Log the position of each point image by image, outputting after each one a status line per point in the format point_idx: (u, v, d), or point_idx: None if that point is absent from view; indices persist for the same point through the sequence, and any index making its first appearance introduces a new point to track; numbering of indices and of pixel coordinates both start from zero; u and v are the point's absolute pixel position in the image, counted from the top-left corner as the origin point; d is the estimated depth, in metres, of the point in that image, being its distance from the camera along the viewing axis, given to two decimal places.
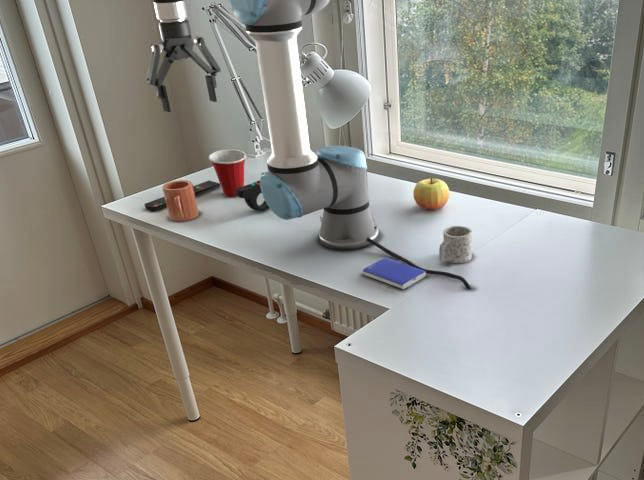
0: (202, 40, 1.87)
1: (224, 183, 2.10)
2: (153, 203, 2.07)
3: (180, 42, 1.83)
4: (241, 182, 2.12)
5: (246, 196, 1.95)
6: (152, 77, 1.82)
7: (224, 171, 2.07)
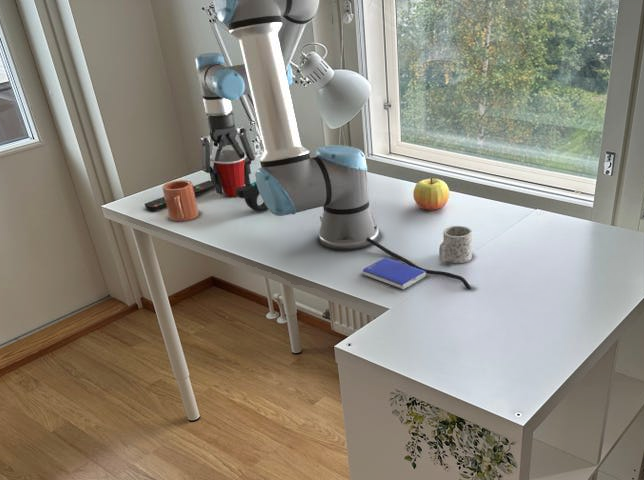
0: (244, 131, 2.08)
1: (224, 183, 2.10)
2: (153, 203, 2.07)
3: (225, 131, 2.04)
4: (241, 182, 2.12)
5: (246, 196, 1.95)
6: (207, 167, 2.04)
7: (224, 171, 2.07)
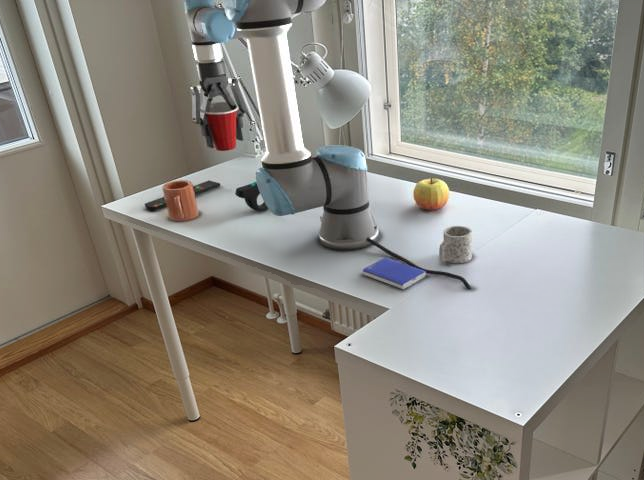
0: (236, 81, 2.00)
1: (215, 135, 2.02)
2: (153, 203, 2.07)
3: (216, 80, 1.96)
4: (233, 135, 2.04)
5: (246, 196, 1.95)
6: (197, 117, 1.97)
7: (215, 123, 1.99)
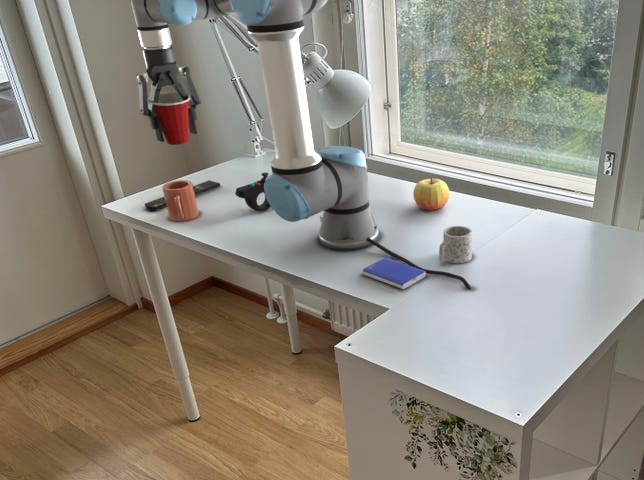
0: (188, 70, 1.86)
1: (165, 128, 1.88)
2: (153, 203, 2.07)
3: (165, 69, 1.82)
4: (185, 128, 1.90)
5: (246, 196, 1.95)
6: (144, 109, 1.83)
7: (164, 115, 1.85)
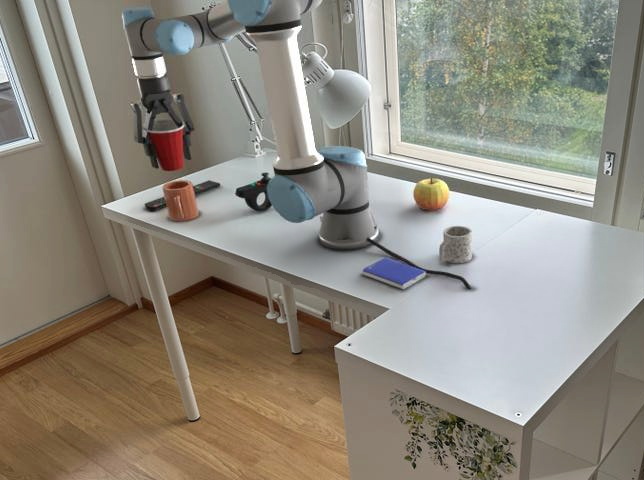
0: (182, 97, 1.87)
1: (159, 155, 1.89)
2: (153, 202, 2.07)
3: (159, 97, 1.83)
4: (179, 154, 1.91)
5: (246, 196, 1.95)
6: (139, 136, 1.83)
7: (159, 142, 1.86)
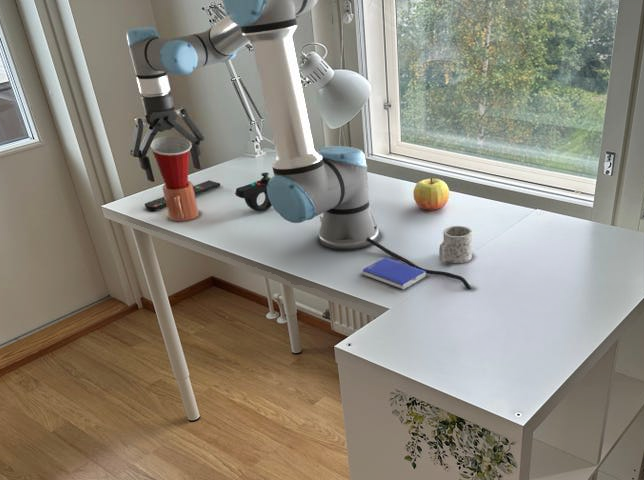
0: (185, 111, 1.89)
1: (165, 174, 1.91)
2: (153, 203, 2.07)
3: (163, 114, 1.86)
4: (185, 174, 1.93)
5: (246, 196, 1.95)
6: (135, 150, 1.84)
7: (165, 162, 1.88)
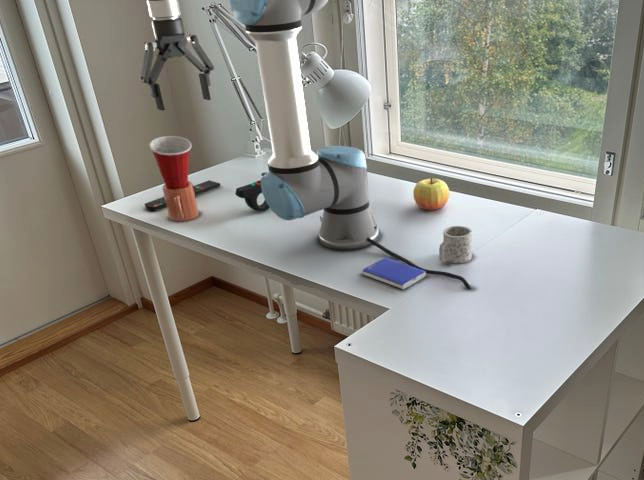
0: (195, 38, 1.86)
1: (165, 174, 1.91)
2: (153, 202, 2.07)
3: (173, 40, 1.82)
4: (185, 174, 1.93)
5: (246, 196, 1.95)
6: (146, 76, 1.81)
7: (165, 162, 1.88)
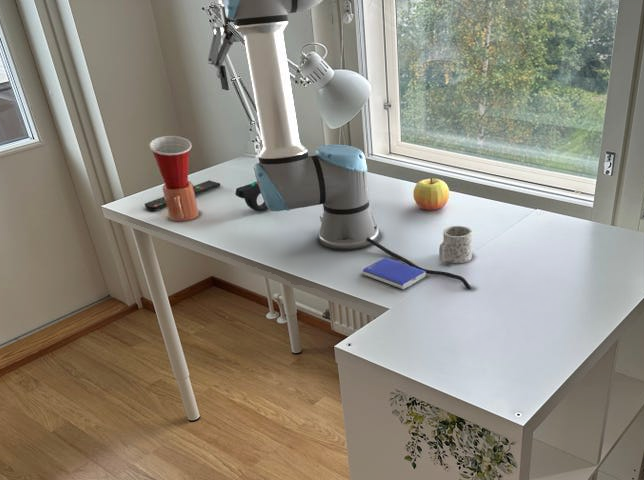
0: None
1: (165, 174, 1.91)
2: (153, 203, 2.07)
3: None
4: (185, 174, 1.93)
5: (246, 196, 1.95)
6: (213, 58, 1.97)
7: (165, 162, 1.88)
